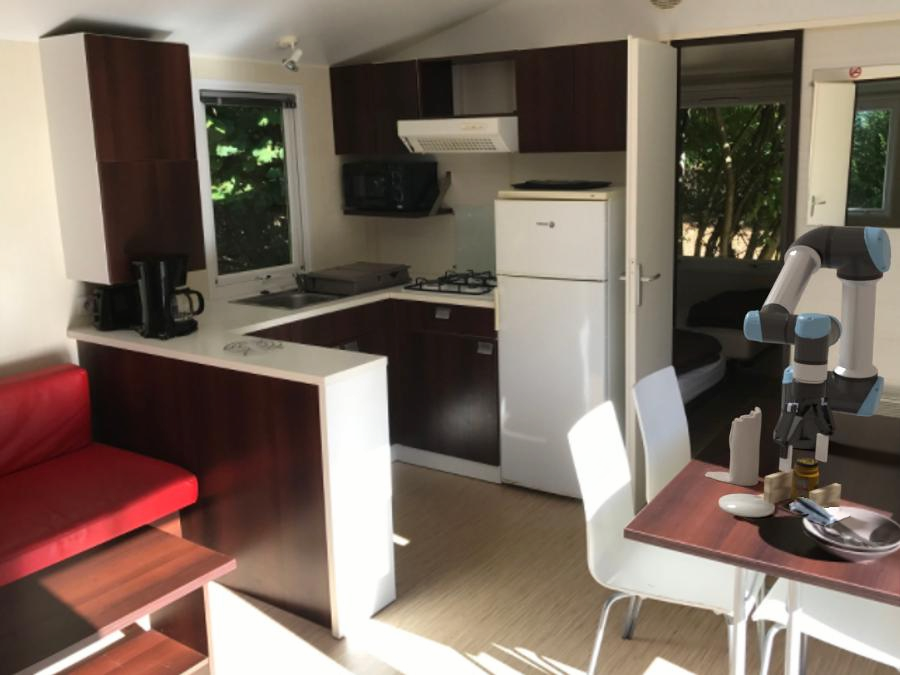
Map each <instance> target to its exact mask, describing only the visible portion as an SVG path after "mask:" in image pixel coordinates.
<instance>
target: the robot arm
mask: <svg viewBox="0 0 900 675" xmlns="http://www.w3.org/2000/svg"><path fill="white" fill-rule="evenodd" d="M891 245H892V244H891V240H890V237H889V233H888V232H887V230H885V229H883V228H882V227H871V226H854V225H853V226H847V225H846V226H843V225H842V226H841V225H823V226H818V227H815V228H813V229H811V230H808V231H806V232H805V233H804V234H802V235H800V236H798V237H797V239H795V240H794V241H793V243H791V245H790V246H789V247H788V249H787V251H786V252H785V254H784V258H783V259H784V260H783V261H784V265H783V266H782V268H781V270H780V271H779V272H780V273H779V274H778V276H777V278H776V280H775V282H774V283H773V286H772V288H771V290H770V292H769V294H768V296H767V298H766V299H765V301H764V303H763V305H762V307H761V309H760V311H759V309H758V310H750V311H748V312H747V314H745V317H744V321H743V334H744V337H745V338H746V339H747V340H749V341H756V342H760V343H771V344H779V345H780V344H782V345H783V344H784V345H789V346H794V347H793V348H794V351H793V364H792V365H789V366H788V367H786V368H785V369H784V371H783V378H782V390H781V393H782V395H781V407H780V409H781V410H780V416H779V419H778V421H777V422H776V425H775V428H774V430H773V437H772V438H773V443H775V444H778V445H779V455H778V456H779V466H778V470H779V471H780V472H781V471H784V472H787V473H790V472H791V468H792V461H793V460H792V459H793V458H792V457H793V448H794V449H803V450H815V456H814V460H816V461H820V462H823V463H827V462H828V452H829V450H828V449H829V444H830V443H829V441H830V437H832V436H834V434H835V432H836V430H837V427H836V422H835V419H834V415H833V413H837V414H838V413H839V414H845V415H852V416H856V417H859V416H861V417H872V416H874V415H875V414H876V412H877V411H878V408H879V405H880V403H881V399H882V395H883V390H884V385H885V378H884V377H882V375H879V370H878V368H877V367H876V365H874V364H873V359H874V338H875V323H876V322H875V320H876V299H877V284H878V282H879V281H880V280H881V279H883V277H884V274H885V273H886V272H889V271H890V268H891V258H892V246H891ZM820 269H830V270H832V269H833V270H836V278H837V279H838V280H839V281H840V282H841V304H840V307H841V308H840V320H839V319H838V318H836V317H835V316H833V315H830V314H824V313H817V312H814V313H813V312H808V313H807V312H806V313H801V314H794V313H795V310H796V308H797V306H798V305H799V302H800V301H801V299H802V296H803V294H804V292H805V290H806V288H807V286H808V284H809V282H810V280H811V278H812V276H813V275H814V274H816V273H817V272H819V270H820ZM838 341H839V352H838V353H839V354H838V355H839V358H838V363H836V364H835V365H834V366H833V367H832V370H828V368H829V367H828V366H829V364H828V363H829V362H828V361H829V360H828V359H829V350H830V347H831V346H834V345H835V344H836V343H837V342H838Z"/></svg>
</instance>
